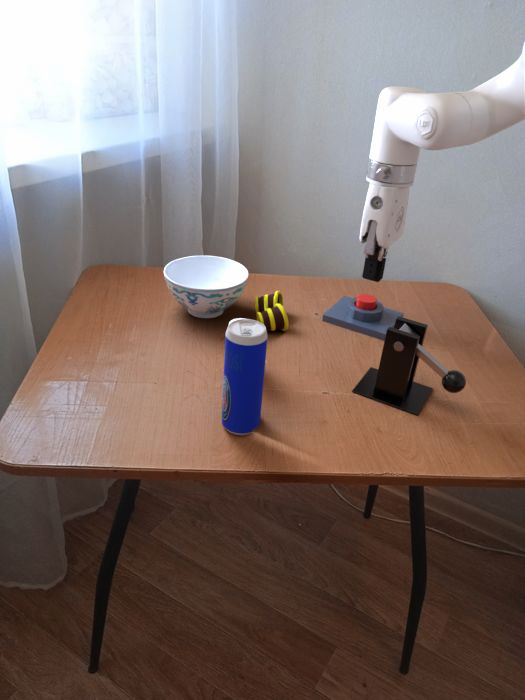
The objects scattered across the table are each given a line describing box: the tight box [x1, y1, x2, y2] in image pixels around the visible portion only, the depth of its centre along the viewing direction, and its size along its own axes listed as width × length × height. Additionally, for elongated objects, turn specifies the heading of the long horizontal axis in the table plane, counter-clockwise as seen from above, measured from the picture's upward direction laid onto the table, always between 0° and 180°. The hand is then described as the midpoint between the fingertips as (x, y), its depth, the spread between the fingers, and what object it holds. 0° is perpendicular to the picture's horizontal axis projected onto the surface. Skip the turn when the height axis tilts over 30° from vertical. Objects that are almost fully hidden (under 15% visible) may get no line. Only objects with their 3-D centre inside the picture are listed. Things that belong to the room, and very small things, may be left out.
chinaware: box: [163, 255, 249, 319], centre depth 102 cm, size 15×15×8 cm
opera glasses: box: [254, 290, 290, 332], centre depth 100 cm, size 10×5×5 cm, turn 5°
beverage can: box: [221, 318, 269, 436], centre depth 72 cm, size 5×5×15 cm
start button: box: [356, 293, 378, 310], centre depth 101 cm, size 4×4×2 cm
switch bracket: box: [351, 316, 434, 417], centre depth 81 cm, size 10×8×12 cm
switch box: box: [322, 295, 405, 341], centre depth 102 cm, size 12×10×4 cm
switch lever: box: [399, 324, 467, 394], centre depth 79 cm, size 12×3×3 cm, turn 60°
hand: (372, 278), depth 99 cm, fingers closed
